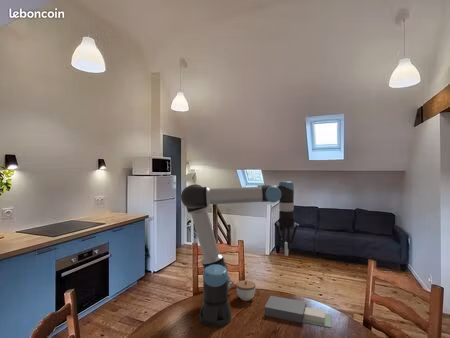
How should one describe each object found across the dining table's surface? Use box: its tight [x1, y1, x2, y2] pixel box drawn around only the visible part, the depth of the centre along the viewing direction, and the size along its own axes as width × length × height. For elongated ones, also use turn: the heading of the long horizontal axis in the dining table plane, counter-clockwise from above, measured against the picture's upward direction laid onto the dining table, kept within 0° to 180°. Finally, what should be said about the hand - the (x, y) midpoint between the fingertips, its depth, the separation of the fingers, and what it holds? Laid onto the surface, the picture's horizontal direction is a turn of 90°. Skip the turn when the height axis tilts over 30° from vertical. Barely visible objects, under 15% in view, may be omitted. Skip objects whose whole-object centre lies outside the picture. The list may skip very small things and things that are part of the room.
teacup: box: [228, 275, 235, 291], centre depth 154 cm, size 14×11×8 cm
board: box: [264, 295, 307, 324], centre depth 130 cm, size 18×13×4 cm
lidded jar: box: [235, 279, 257, 302], centre depth 145 cm, size 11×11×9 cm
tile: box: [304, 306, 326, 323], centre depth 124 cm, size 9×7×2 cm
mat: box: [303, 313, 332, 329], centre depth 124 cm, size 12×11×1 cm
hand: (286, 254), depth 139 cm, fingers closed
